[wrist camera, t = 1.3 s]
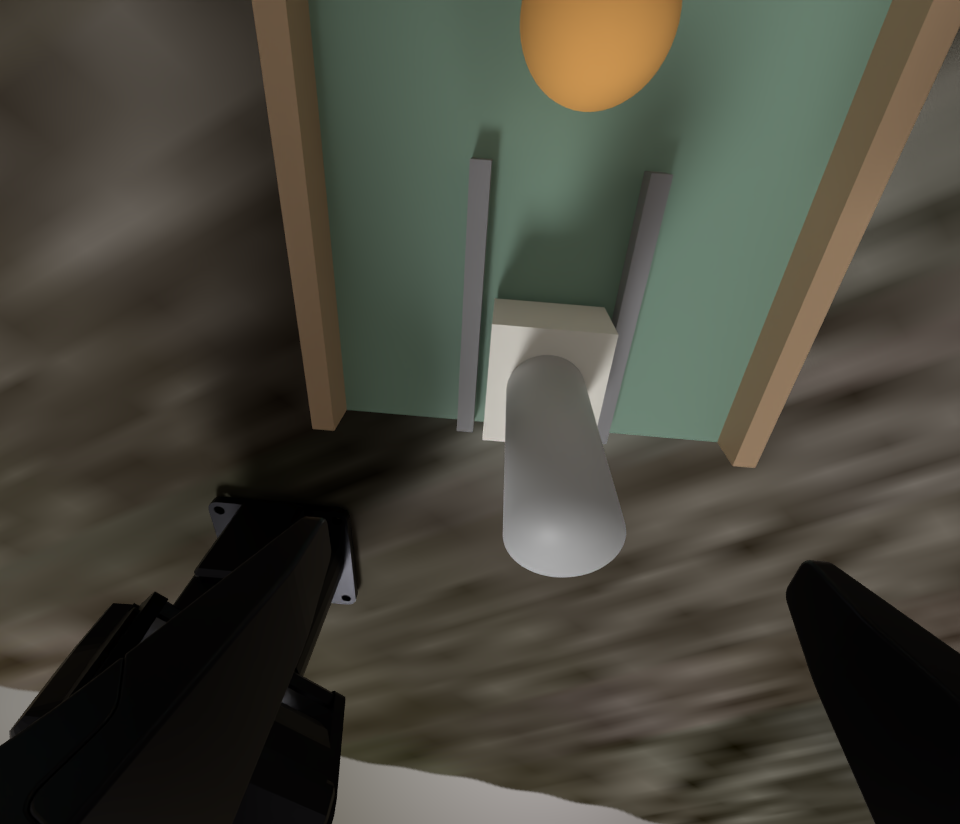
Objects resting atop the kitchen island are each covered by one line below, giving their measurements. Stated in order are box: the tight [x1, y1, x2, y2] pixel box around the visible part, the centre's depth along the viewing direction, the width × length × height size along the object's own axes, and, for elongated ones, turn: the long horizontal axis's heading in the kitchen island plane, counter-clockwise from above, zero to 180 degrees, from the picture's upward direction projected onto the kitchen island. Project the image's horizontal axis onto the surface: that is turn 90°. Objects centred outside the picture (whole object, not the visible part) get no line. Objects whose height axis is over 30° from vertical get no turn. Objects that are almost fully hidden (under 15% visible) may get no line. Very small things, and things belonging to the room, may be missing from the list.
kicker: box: [482, 298, 626, 577], centre depth 13 cm, size 4×4×8 cm
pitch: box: [252, 0, 960, 468], centre depth 12 cm, size 22×16×2 cm
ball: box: [520, 0, 682, 112], centre depth 11 cm, size 4×4×4 cm
